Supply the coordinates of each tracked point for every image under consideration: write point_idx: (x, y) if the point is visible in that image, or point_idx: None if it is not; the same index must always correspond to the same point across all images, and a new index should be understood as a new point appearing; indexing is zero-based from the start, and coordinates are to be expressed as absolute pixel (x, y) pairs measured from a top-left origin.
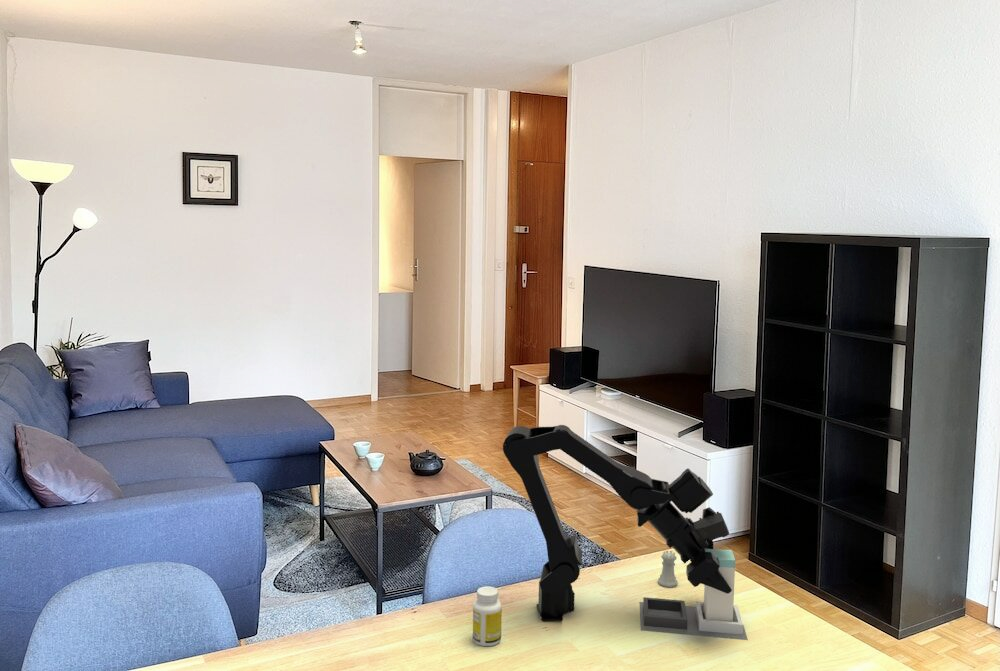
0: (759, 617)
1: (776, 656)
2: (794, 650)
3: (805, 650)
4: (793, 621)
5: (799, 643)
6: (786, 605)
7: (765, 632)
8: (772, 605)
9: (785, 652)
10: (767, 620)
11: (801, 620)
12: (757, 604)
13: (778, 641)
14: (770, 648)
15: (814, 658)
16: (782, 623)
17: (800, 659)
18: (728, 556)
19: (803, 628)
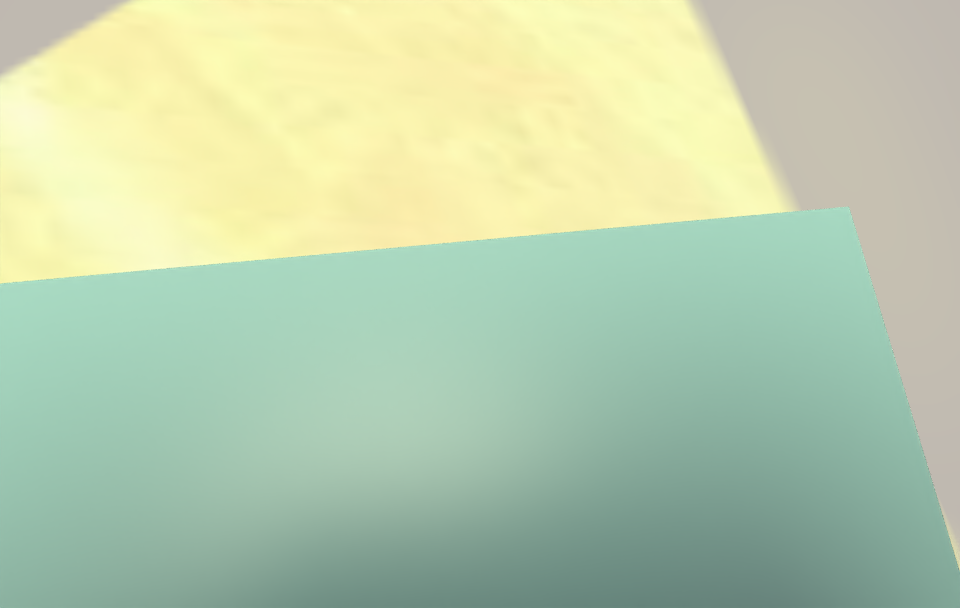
0: (223, 258)
1: (718, 196)
2: (607, 100)
3: (586, 49)
4: (240, 70)
5: (514, 68)
6: (13, 86)
7: (433, 235)
8: (22, 166)
9: (650, 147)
10: (258, 212)
11: (217, 28)
12: (16, 259)
13: (529, 171)
14: (634, 221)
15: (658, 19)
16: (281, 130)
17: (698, 83)
18: (598, 419)
19: (320, 30)
